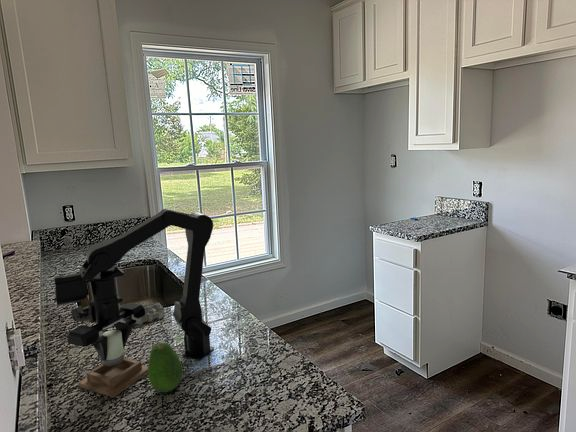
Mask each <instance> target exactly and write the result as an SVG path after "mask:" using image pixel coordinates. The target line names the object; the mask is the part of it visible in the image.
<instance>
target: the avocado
mask: <svg viewBox="0 0 576 432" xmlns="http://www.w3.org/2000/svg"><path fill="white" fill-rule="evenodd" d="M147 366H148V373H147V374H148V380H149V383H150V385H151V386H152V388H153V389H154V390H155V392H159V393H169V392H172V391H173V390H174V389H176V388H177V387H178V386H179V385H180V383H181V381H182V377H183V373H184V371H183V366H182V362H181V359H180V358H179V356H178V354H177V352H176V351H175V350H174V348H173V347H172V345H170V344H169V343H167V342H159V343H157V344H155V345H154V346H153V348H152V349H151V351H150V355H149V360H148V365H147Z"/></svg>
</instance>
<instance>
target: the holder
mask: <svg viewBox="0 0 576 432" xmlns="http://www.w3.org/2000/svg"><path fill="white" fill-rule="evenodd" d="M148 366H149V365H145V364H142V361H139V360H135V359H132V358H128V357H125V359H124V361H123V362H121V363H119V364H117V365H114V366H104V365H103V363H102V362H101V364H99V365H98V366H96V367H94V368H93V369H90V370H89V371H88V372H86V377H85V378H83V379H81V380H80V381H79V382H77V386H78V387H80V388H83V389H86V390H89V391H91V392H95V393H98V394H101V395H104V396H107V397H110V398H116V396H118V395H120V394H121V393H122V392H123V391H125V390H126V389H127V388H129V387H130V386H132V385H133V384H134V383H137V382H138V381H139V380H140V379H142V378H143V377H144V376H146V375H147V374H148Z"/></svg>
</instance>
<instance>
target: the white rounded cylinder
mask: <svg viewBox="0 0 576 432" xmlns="http://www.w3.org/2000/svg"><path fill="white" fill-rule="evenodd" d="M103 336H107V337H108V341H107V359H106V360H105V361H104V360H102V359H101V360H102V361H101V364H102V363H103V365H104V366H114V365H117V364H119V363H121V362H123V361H124V359H125V358H126V357H125V351H124V349H123V341H122V333H121V331H119V330H116V329H112V330H107V331H105V332H104V331H103Z"/></svg>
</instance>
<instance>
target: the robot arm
mask: <svg viewBox="0 0 576 432" xmlns="http://www.w3.org/2000/svg"><path fill="white" fill-rule="evenodd" d="M170 226H172V227H177V228H180V229H184V230H185V231H184V232H185V237H186V241H187V251H186V252H187V253H186V261H185V262H186V263H185V269H184V270H185V271H184V272H185V273H184V280H183V288H182V289H183V290H182V296H181V298H180V299H179V301H174V302H173V304H174V306H173V307H174V309H173V313H172V316H173V318H174V319H175V322H176V324H178V326H179V328H181V330H182V331H183V333H184V335H183V342H184V343H183V344H184V352H182V356H183V357H188V358H191V359H196V360H199V361H200V360H203V359H204V358H205V357H206V356H207V355H208V354H210V353H211V352H212V351H214V350H215V347H214V346H211V339H210V336H211V332H212V327H211V326H210V325H209V324H208V323H207V322H206V321H205V320H204V319H203V312H202V311H203V310H202V306H201V302H200V296H201V295H200V293H201V285H202V277H203V267H204V261H205V259H204V258H205V249H206V247H207V245H208V243H209V241H210V240H211V237H212V234H213V230H214V221H213V220H212V218H211V217H210V216H208V215H206V214H205V213H201V212H196V211H195V212H191V213H186V212H181V211H177V210H174V209H171V208H162V209H161V210H160V211H159V212H158V213H156V214H154V215H153V216H151V217H150V218H148V219H146V220H144V221H143V222H141V223H139V224H137V225H136V226H134V227H132V228H131V229H129V230H127V231H125V232H123V233H122V234H121V235H118V236H116V237H112V238H108V239H105V240H102V241H99V242H97V243H95V244H93V245H91V246H89V247H88V249H87V250H86V253H85V257H86V259H85V261H84V262H83V264H82V265H81V267H80V269H79V272H77V273H71V274H65V275H62V274H61V275H56V276H54V286H55V288H54V291H55V292H54V294H55V300H56V306H57V307H60V306H65V305H70V304H74V303H75V304H76V303H79V302H84V301H85V299H87V297H88V296H90V293H89V285H90V290H91V297H92V300H91V301H89V303H88V306H85V307H83V306H82V305H80V306H77V307H74V308H72V309H71V317H72V321H74V322H76V323H77V322H79V321H80V322H81V324H82V323H84V322H86V321H88V322H89V323H92V324H93V323H95V324H94V325H91V326H88V325H85V324H82V325H80V326H77V327H75V328H73V329H72V330H69V331H68V333H67V335H66V336H67V337H66V338H67V344H71V345H74V346H76V347H77V346H78V347H82V348H85V347H88V346H90V345H92V346H93V348H94V349H95V351H96V352H97V354H98V355H99V357H100V359H101V360H104V361H105V360H106V359H107V341H108V337H107V336H103V333H104V330H105V329H107V328H110V327H111V326H114V328H115V330H119V331H121V333H122V341H123V350H124V349H125V347H126V345H127V341H128V340H129V337H130V335H131V332H132V330H133V328H134V326H135V325H136V324H135V323H136V320H133V319H132V315H134V317H135V318H137V319H138V318H140V317H142V316H144V315H145V308H144V307H145V306H143V304H140V303H135V302H128V303H125V304H123V305H122V306H121V305H120V303H122V302H123V301H124V300H123V297H122V296H119V290H118V283H117V277H118V278H119V277H123V276H125V272H124V271H123V269H122V268H119V267H118V265H116V264H118V263H119V262H120V261H121V260H122V259H123V258H124V257H125V256H126V255H127V253H128V252H130V251H131V250H133V249H134V248H135V247H137V246H139V245H140V244H143V243H144V242H145V241H147V240H148V239H151V238H152V237H154V236H155V235H157V234H159V233H161V232H162V231H164V230H165V229H167V228H168V227H170ZM88 283H89V285H88Z"/></svg>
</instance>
